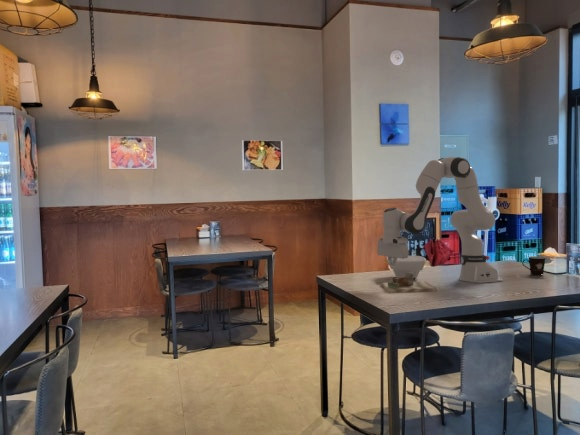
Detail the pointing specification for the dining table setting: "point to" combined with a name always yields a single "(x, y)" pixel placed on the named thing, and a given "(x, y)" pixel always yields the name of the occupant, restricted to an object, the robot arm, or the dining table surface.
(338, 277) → the dining table surface
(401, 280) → the tuning peg
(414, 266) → the bowl
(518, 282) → the dining table surface
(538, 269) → the coffee mug
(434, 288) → the tuner board
